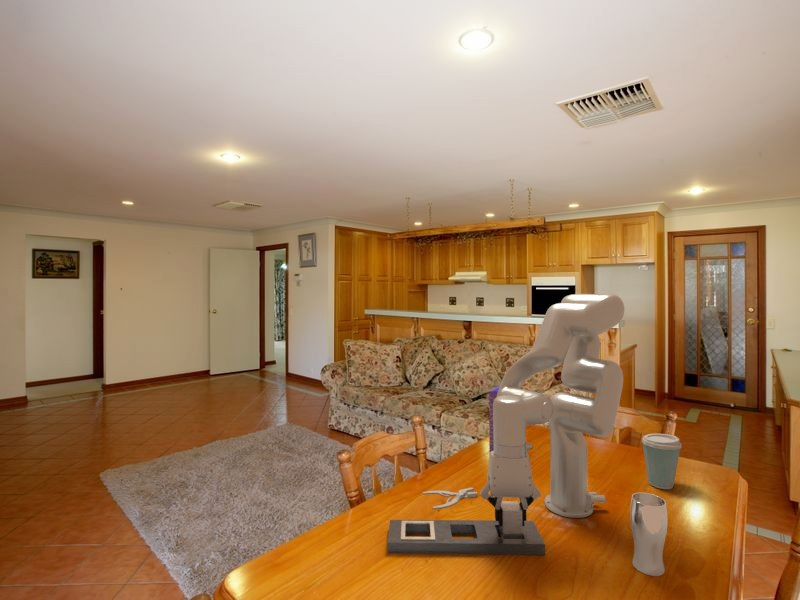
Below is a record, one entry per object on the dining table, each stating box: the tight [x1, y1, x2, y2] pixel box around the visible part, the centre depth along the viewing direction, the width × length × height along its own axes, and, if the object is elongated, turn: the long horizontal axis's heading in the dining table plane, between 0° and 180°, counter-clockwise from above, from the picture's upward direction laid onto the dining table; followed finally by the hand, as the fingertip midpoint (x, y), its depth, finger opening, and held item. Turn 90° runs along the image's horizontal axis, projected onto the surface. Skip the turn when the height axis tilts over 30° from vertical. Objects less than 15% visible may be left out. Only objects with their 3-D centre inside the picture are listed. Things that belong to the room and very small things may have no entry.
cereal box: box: [488, 385, 500, 453], centre depth 163 cm, size 17×5×24 cm, turn 147°
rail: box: [387, 519, 546, 556], centre depth 105 cm, size 36×10×3 cm, turn 88°
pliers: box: [422, 487, 479, 510], centre depth 127 cm, size 10×2×15 cm
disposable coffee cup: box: [641, 433, 682, 490], centre depth 134 cm, size 11×11×15 cm
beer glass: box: [629, 491, 668, 577], centre depth 94 cm, size 7×7×15 cm
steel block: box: [500, 500, 523, 539], centre depth 105 cm, size 4×4×8 cm
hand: (510, 522), depth 105 cm, fingers closed on steel block, 4 cm apart
